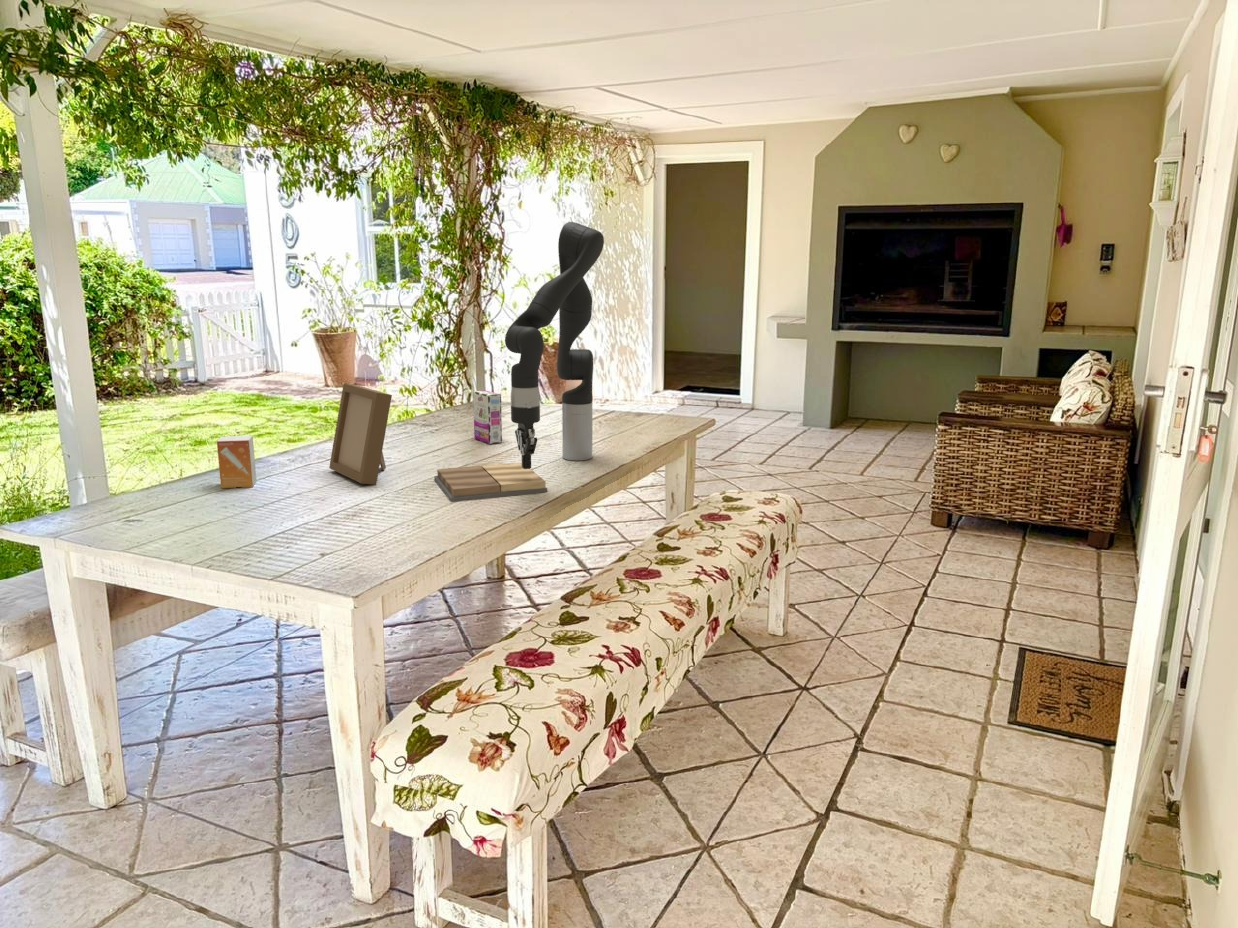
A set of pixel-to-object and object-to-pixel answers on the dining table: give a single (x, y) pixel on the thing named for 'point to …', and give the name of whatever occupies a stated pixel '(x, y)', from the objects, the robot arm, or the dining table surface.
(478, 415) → the candy bar box
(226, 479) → the small box
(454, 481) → the walnut plank
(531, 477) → the oak plank
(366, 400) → the photo frame
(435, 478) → the underlay mat
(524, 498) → the dining table surface
